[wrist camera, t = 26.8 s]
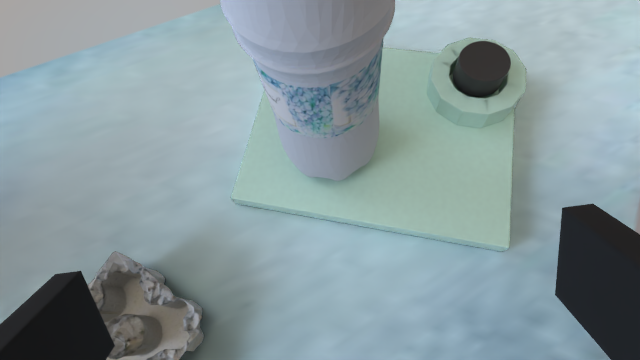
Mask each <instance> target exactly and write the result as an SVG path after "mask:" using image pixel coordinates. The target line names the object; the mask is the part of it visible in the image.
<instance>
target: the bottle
mask: <svg viewBox="0 0 640 360" xmlns="http://www.w3.org/2000/svg"><path fill="white" fill-rule="evenodd" d="M220 4H221V8H222V11H223V13H224V15H225V17H226V19H227V20H228V22H229V23H230V25H231V26H232V28H233V33H234V35H235V37H236V40H237V42H238V43H239V44H240V46H241V47H242V48H243V50H244V51H245V52H246V53H247V54H248V55H249V56H251V57H252V58H253V61H254V63H255V66H256V69H257V71H258V74H259V76H260V79H261V82H262V84H263V87H264V90H265V92H266V95H267V97H268V100H269V103H270V105H271V108H272V110H273V112H274V116H275V120H276V124H277V129H278V133H279V137H280V140H281V142H282V145H283V148H284V150H285V152H286V154H287V155H288V157H289V159H290V160H291V161H292V162H293V163H294V165H295V166H296V167H297V168H298V169H299V170H300V171H301V172H302V173H303V174H305V175H306V176H308V177H311V178H312V177H320V178H328V179H332V180H334V181H340V180H344V179H346V178H347V177H348V176H349V175H350V174H352V173H353V172H354V171H356V170H357V169H359V168H360V167H362V166H365V165H366V164H367V163H368V162H369V161H370V159H371V158H372V156H373V153H374V151H375V147H376V144H377V140H378V135H379V102H378V96H379V86H380V73H381V61H382V49H383V37H384V36H385V34H386V33H387V31H388V30H389V27H390V25H391V22H392V19H393V16H394V12H395V0H220Z"/></svg>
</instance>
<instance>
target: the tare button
mask: <svg viewBox="0 0 640 360" xmlns="http://www.w3.org/2000/svg"><path fill="white" fill-rule="evenodd" d="M510 67H511V60H510V56H509V54H508V53H507V51H506V50H505V49H504V48H503V47H501V46H500V45H498V44H496V43H493V42H489V41H477V42H473V43H470V44H469V45H467V46H466V47H464V48H463V49H462V51H461V52H460V55H459V57H458V60H457V63H456V66H455V69H454V71H453V80H454V83H455V85H456V86H457V88H458V89H459V90H460V91H462V92H463V93H465V94H467V95H470V96H474V97H484V96H488V95H491V94H493V93H494V92H496V91H497V90H498V89H499V87H500V86H501V84H502V82H503V80H504V79H505V77H506V75H507V73H508V71H509V69H510Z"/></svg>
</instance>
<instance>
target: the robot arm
mask: <svg viewBox="0 0 640 360" xmlns="http://www.w3.org/2000/svg"><path fill="white" fill-rule="evenodd" d="M555 295H556V296H557V297H558V298H559V300H560V301H561V302H562V303H563V304H564V305H565V307H566V308H567V309H568V310H569V311H570V312H571V314H572V315H573V316H574V317H575V318H576V319H577V320H578V322H579V323H580V324H581V325H582V326H583V327H584V329H585V330H586V331H587V332H588V333H589V334H590V336H591V337H592V338H593V339H594V340H595V341H596V343H597V344H598V345H599V346H600V347H601V348H602V350H603V351H604V352H605V353H606V354H607V355H608V357H609V358H610V359H611V360H640V235H639V234H638V233H637V232H635V231H634V230H632V229H631V228H629V227H627V226H626V225H624V224H623V223H621V222H620V221H618V220H617V219H615V218H614V217H612V216H611V215H609V214H608V213H606V212H605V211H603V210H602V209H600V208H599V207H597V206H596V205H594V204H588V205H580V206H573V207H565V208H562V218H561V230H560V242H559V255H558V267H557V279H556V291H555ZM114 347H115V345H114V342H113V340H112V338H111V336H110V334H109V332H108V329H107V327H106V325H105V323H104V321H103V318H102V316H101V314H100V312H99V310H98V307H97V305H96V303H95V301H94V299H93V297H92V294H91V292H90V290H89V288H88V286H87V283H86V281H85V279H84V277H83V275H82V272H81V271H77V272H69V273H61V274H55V275H54V276H53V277H52V278H51V279H50V280H48V281H47V282H46V283H45V284H44V285H43V286H42V287H41V288H40V289H39V290H38V291H36V292H35V293H34V294H33V295H32V296H31V297H30V298H29V299H28V300H27V301H26V302H24V303H23V304H22V305H21V306H20V307H19V308H18V309H17V310H16V311H15V312H14V313H12V314H11V315H10V316H9V317H8V318H7V319H6V320H5V321H4V322H3V323H2V324H0V360H106V359H107V357H108V356H109V354H110V353H111V351H112V350H113V348H114Z"/></svg>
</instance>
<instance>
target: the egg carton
mask: <svg viewBox="0 0 640 360" xmlns="http://www.w3.org/2000/svg"><path fill="white" fill-rule="evenodd" d="M164 282H165V277H164V276H162V275H161V274H160V273H159V272H158V271H156V270H152V269H149V268H146V267H143V266H142V265H141V264H140V263H138V262H136V261H134V260H132V259H130V258H129V257H127V256H125V255H123V254H120V253H118V252H116V251H115V252H113V253H112V254H111V255H110V257H109V258H108V260H107V261H106V262H105V264H104V265H103V266H102V267H101V269H100V270H99V271H98V272H97V274H96V277H95V278H94V279H93V281H92V282H91V283H90V284H89V285H88V288H89V290H90V292H91V294H92V297H93V299H94V301H95V303H96V305H97V307H98V310H99V312H100V314H101V316H102V318H103V321H104V323H105V325H106V327H107V329H108V332H109V334H110V336H111V338H112V340H113V342H114V345H115V347H114V348H113V350H112V351H111V353H110V354H109V356H108V357H107V359H106V360H179V359H180V358H181V356H182V355H183V354H184V352H185V351H195V349H196V348H197V347H198V346H199V345H200V344H201V343H202V340H203V337H204V335H203V333H202V331H201V329H200V320H201V319H202V316H201V315H202V308H201V307H200V306H199V305H198V304H196V303H195V302H194V301H192V300H186V299H183V298H178V297H175V296H174V295H172V292H171V290H170V289H169V288H168V287H167V286H165V285H164Z"/></svg>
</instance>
